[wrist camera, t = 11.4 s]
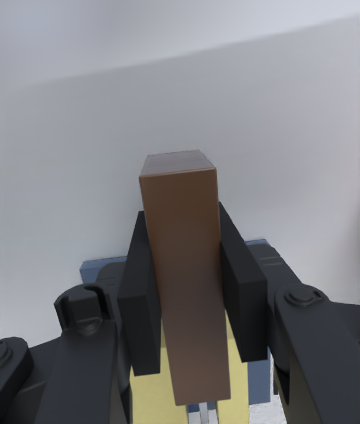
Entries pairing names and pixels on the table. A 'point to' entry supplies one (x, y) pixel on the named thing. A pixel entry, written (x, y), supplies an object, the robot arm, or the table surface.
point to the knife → (188, 273)
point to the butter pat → (234, 387)
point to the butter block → (156, 395)
